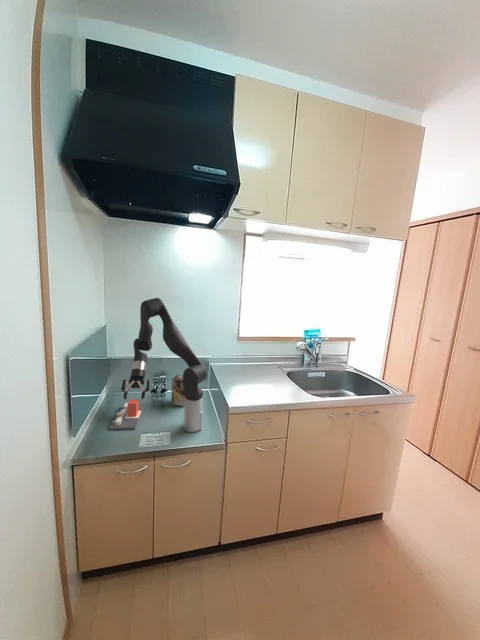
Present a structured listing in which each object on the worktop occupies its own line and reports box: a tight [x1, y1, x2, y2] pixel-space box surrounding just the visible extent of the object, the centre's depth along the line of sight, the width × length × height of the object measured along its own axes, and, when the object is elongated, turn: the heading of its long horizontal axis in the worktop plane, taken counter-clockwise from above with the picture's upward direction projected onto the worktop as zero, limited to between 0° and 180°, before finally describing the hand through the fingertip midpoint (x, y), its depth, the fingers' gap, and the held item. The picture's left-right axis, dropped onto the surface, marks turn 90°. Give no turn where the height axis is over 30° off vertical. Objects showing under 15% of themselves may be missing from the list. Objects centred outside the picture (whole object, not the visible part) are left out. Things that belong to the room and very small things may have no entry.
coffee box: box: [171, 374, 184, 408], centre depth 156 cm, size 9×6×16 cm
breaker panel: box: [109, 402, 146, 431], centre depth 140 cm, size 12×22×3 cm, turn 8°
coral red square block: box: [126, 398, 139, 417], centre depth 140 cm, size 4×4×8 cm
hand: (133, 399), depth 141 cm, fingers open, 8 cm apart
